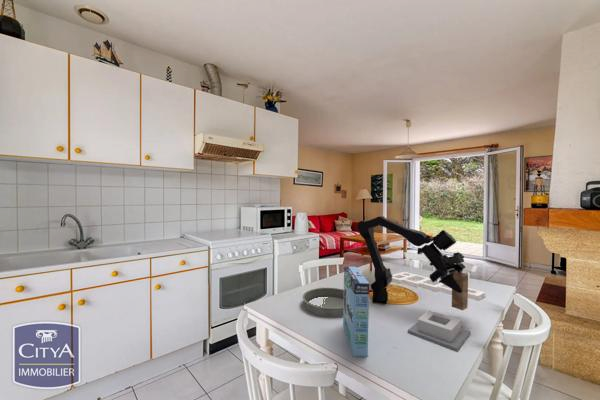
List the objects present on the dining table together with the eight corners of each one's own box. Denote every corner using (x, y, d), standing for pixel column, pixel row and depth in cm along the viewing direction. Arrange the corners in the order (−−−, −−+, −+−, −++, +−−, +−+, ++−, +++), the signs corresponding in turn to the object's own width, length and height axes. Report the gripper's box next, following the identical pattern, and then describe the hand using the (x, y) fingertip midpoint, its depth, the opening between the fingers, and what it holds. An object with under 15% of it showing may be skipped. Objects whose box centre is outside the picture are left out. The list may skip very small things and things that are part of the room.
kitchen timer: (383, 285, 147) (383, 259, 147) (385, 294, 133) (385, 265, 133) (357, 283, 150) (358, 257, 150) (357, 292, 137) (357, 263, 137)
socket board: (407, 332, 95) (407, 319, 95) (424, 318, 106) (425, 306, 106) (457, 351, 84) (457, 336, 84) (470, 333, 95) (470, 320, 95)
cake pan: (307, 294, 133) (307, 285, 133) (357, 298, 128) (357, 289, 128) (297, 315, 109) (297, 304, 109) (357, 321, 104) (357, 310, 104)
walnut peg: (451, 306, 102) (452, 273, 102) (456, 304, 104) (457, 271, 104) (462, 310, 99) (463, 276, 99) (467, 307, 101) (468, 274, 101)
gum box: (342, 326, 100) (343, 266, 100) (356, 326, 100) (356, 266, 100) (352, 357, 80) (353, 282, 80) (369, 357, 80) (370, 283, 80)
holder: (485, 297, 131) (485, 292, 131) (470, 306, 121) (470, 300, 121) (404, 275, 168) (404, 271, 168) (386, 280, 157) (386, 276, 157)
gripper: (438, 248, 99) (469, 285, 90) (460, 243, 110) (491, 276, 101) (418, 264, 106) (445, 300, 97) (441, 258, 116) (468, 290, 108)
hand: (463, 291), depth 100 cm, fingers closed on walnut peg, 4 cm apart
